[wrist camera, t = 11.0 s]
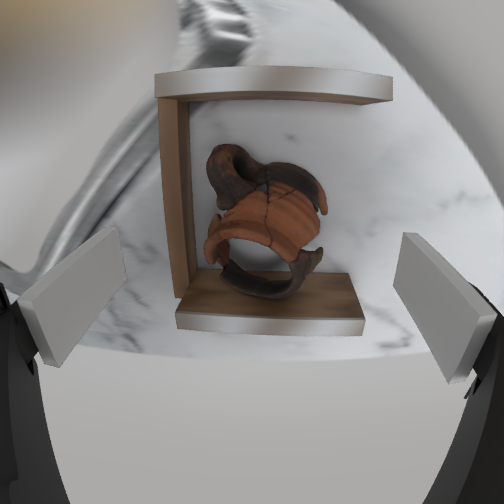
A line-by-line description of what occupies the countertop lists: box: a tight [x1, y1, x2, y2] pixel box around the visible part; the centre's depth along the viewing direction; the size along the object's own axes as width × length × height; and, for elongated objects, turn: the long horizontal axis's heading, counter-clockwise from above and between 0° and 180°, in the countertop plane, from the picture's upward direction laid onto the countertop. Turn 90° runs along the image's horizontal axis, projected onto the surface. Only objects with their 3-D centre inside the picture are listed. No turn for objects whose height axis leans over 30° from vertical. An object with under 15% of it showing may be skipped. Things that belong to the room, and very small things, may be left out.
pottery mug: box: [204, 144, 328, 299], centre depth 23 cm, size 12×9×8 cm
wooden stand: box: [155, 66, 393, 336], centre depth 22 cm, size 16×18×7 cm
